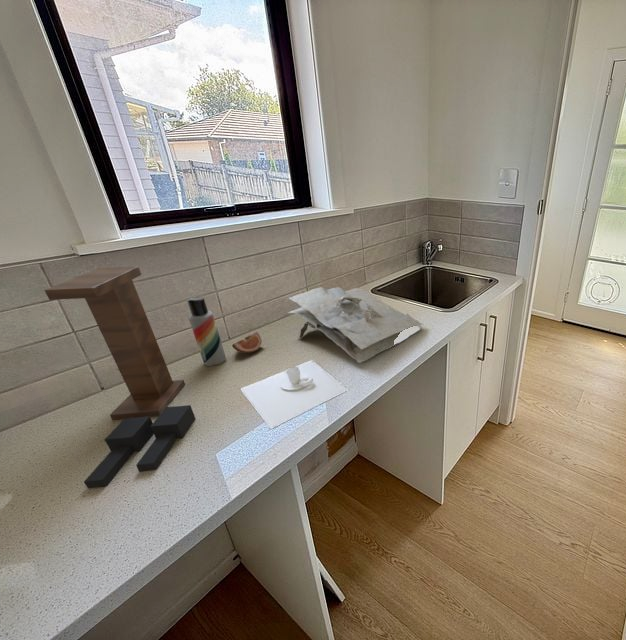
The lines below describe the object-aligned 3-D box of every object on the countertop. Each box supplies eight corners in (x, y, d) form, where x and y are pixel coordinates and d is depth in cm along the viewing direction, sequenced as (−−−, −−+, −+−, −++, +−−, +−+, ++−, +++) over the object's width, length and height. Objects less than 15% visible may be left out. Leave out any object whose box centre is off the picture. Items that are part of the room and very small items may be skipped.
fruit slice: (243, 360, 99) (239, 346, 97) (229, 355, 101) (224, 340, 99) (267, 347, 105) (264, 333, 103) (253, 342, 108) (249, 329, 106)
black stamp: (112, 485, 61) (103, 470, 59) (81, 489, 60) (71, 474, 59) (156, 430, 73) (150, 416, 72) (131, 432, 73) (124, 418, 71)
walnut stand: (157, 418, 77) (98, 287, 63) (109, 423, 75) (37, 290, 61) (187, 382, 89) (143, 266, 75) (146, 385, 88) (93, 267, 74)
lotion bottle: (199, 364, 97) (177, 301, 88) (214, 354, 102) (195, 293, 93) (215, 367, 95) (194, 303, 87) (230, 357, 100) (212, 295, 92)
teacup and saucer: (318, 383, 89) (316, 370, 87) (289, 397, 84) (286, 383, 82) (303, 370, 94) (300, 357, 93) (275, 382, 89) (272, 369, 88)
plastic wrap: (430, 310, 114) (363, 337, 89) (420, 349, 121) (356, 384, 96) (358, 273, 129) (285, 288, 105) (354, 310, 137) (284, 331, 112)
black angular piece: (162, 469, 64) (154, 454, 63) (133, 472, 64) (125, 457, 62) (195, 418, 77) (190, 405, 75) (171, 420, 76) (166, 407, 74)
